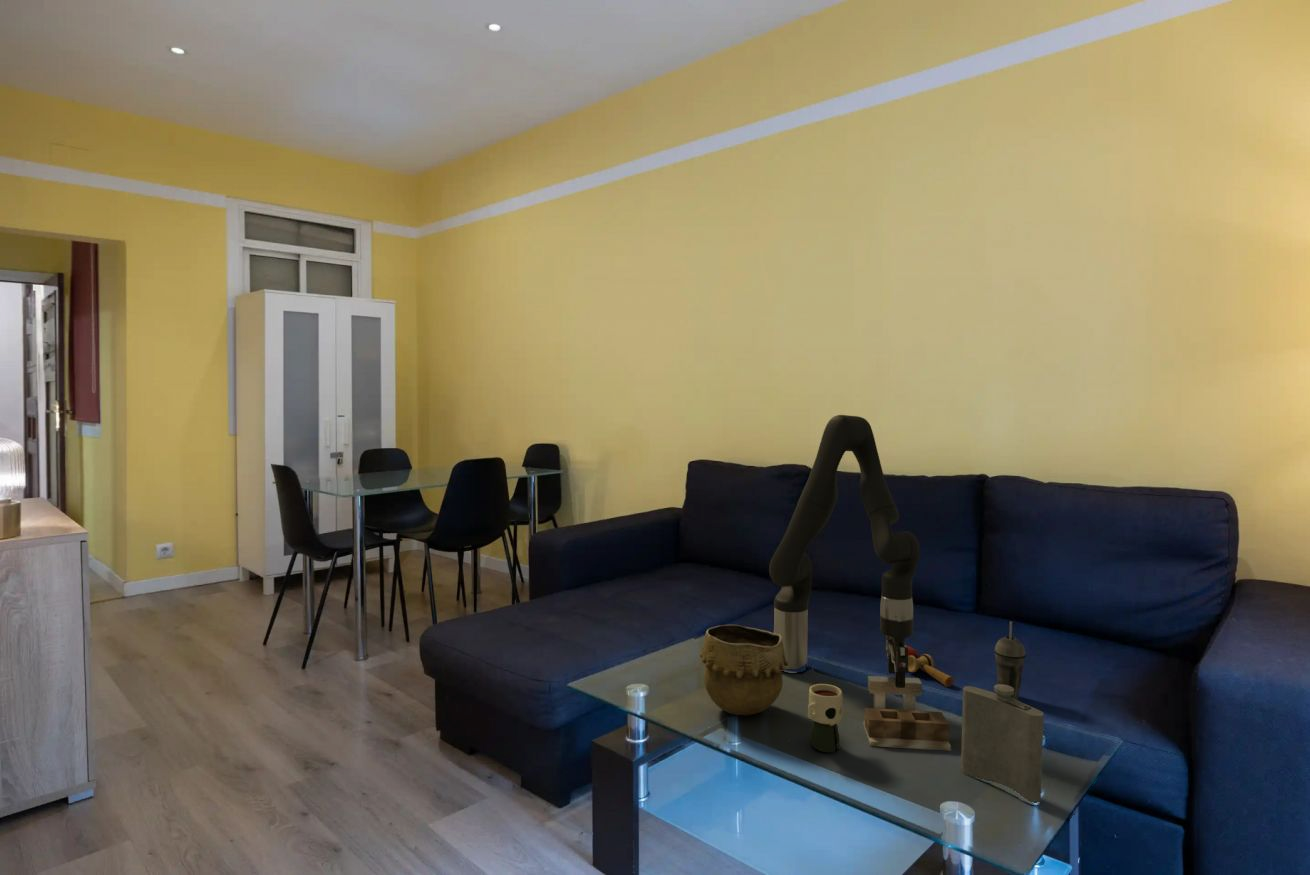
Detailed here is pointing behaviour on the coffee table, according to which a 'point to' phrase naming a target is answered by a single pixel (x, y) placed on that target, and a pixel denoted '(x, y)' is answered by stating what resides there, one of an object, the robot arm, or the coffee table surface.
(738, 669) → the clay pot
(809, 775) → the coffee table surface
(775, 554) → the robot arm
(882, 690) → the clip
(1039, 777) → the hip flask
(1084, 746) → the coffee table surface
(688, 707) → the coffee table surface
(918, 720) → the brown wooden block
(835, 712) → the character mug
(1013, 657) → the beverage cup
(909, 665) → the kendama
